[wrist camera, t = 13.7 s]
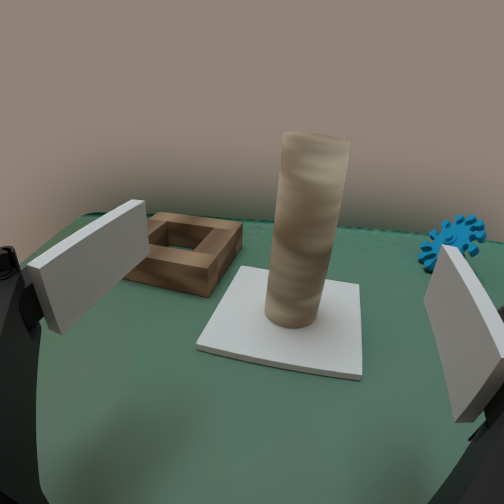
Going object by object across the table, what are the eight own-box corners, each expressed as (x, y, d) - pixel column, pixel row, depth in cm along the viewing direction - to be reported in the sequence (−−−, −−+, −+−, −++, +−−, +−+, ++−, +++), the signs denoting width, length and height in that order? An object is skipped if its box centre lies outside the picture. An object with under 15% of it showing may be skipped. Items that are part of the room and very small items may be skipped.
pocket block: (241, 245, 38) (242, 222, 36) (208, 297, 28) (207, 268, 27) (160, 233, 40) (159, 211, 38) (111, 275, 30) (106, 249, 29)
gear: (413, 234, 40) (471, 200, 34) (431, 263, 41) (486, 233, 35) (419, 282, 31) (495, 242, 25) (439, 315, 33) (508, 281, 26)
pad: (357, 289, 30) (358, 284, 30) (359, 380, 20) (362, 374, 20) (241, 270, 33) (241, 265, 32) (196, 349, 22) (195, 343, 22)
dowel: (318, 300, 27) (349, 139, 21) (313, 333, 24) (352, 147, 17) (270, 291, 28) (289, 129, 21) (258, 321, 24) (278, 136, 18)
